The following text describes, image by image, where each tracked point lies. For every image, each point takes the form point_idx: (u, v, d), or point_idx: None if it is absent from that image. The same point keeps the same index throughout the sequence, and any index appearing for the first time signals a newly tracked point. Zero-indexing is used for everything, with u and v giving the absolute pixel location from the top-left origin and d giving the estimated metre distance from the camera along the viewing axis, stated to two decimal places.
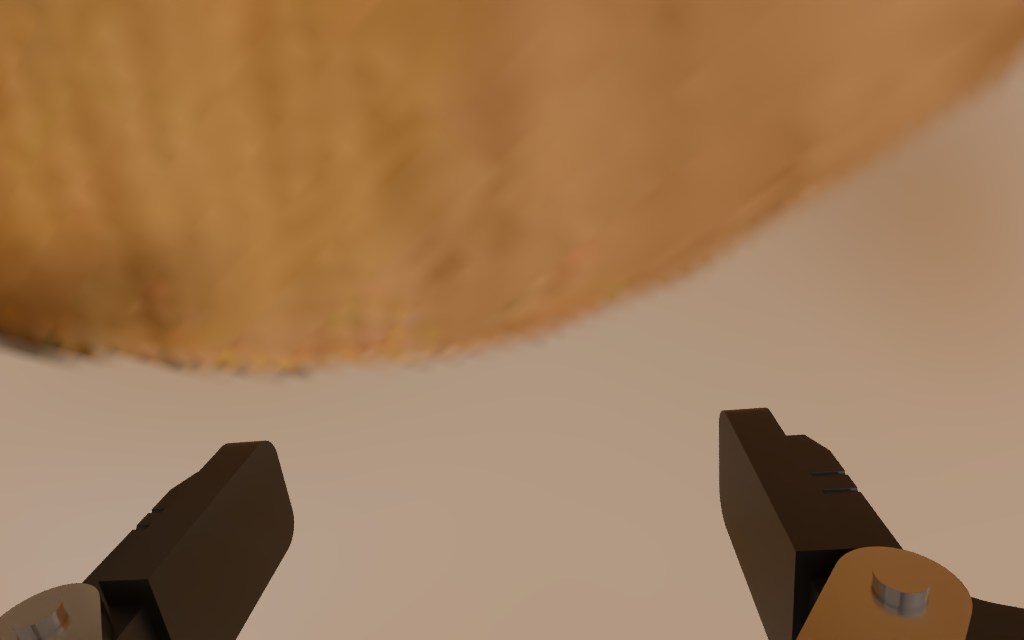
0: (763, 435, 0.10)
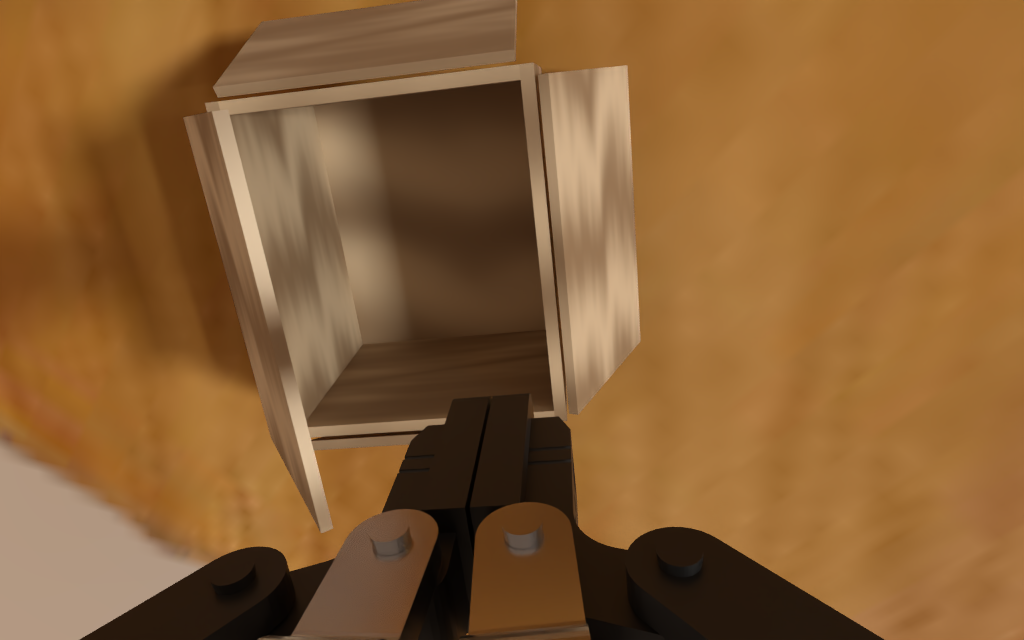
0: (509, 416, 0.11)
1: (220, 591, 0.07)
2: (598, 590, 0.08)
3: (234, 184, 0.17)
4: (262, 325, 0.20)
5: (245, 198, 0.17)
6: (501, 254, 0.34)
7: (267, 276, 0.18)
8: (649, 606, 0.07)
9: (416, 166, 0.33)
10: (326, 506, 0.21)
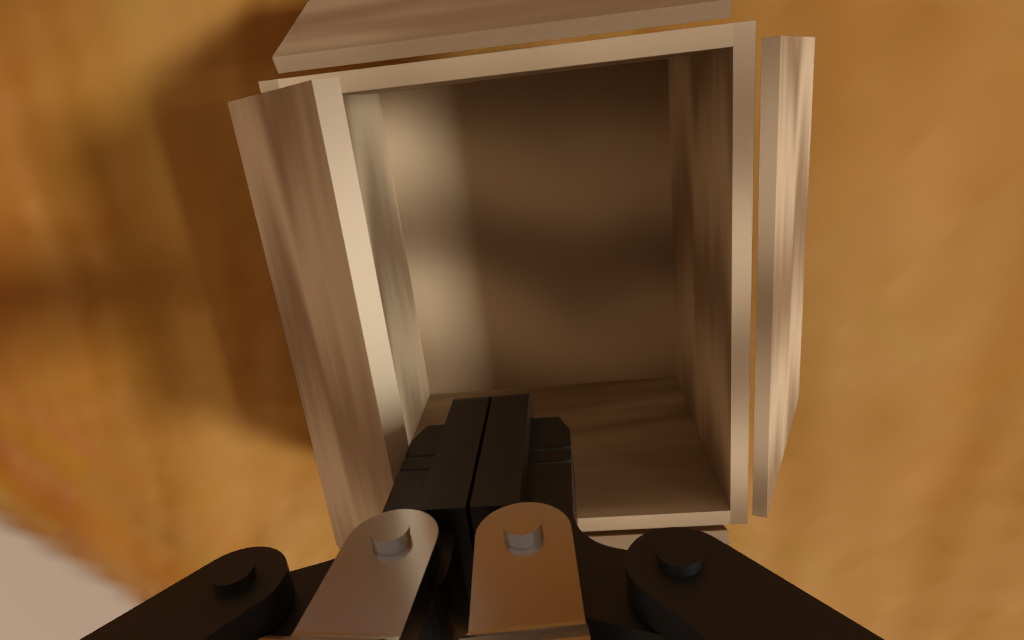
0: (509, 416, 0.11)
1: (220, 591, 0.07)
2: (598, 590, 0.08)
3: (343, 211, 0.10)
4: (367, 433, 0.12)
5: (360, 234, 0.10)
6: (613, 284, 0.27)
7: (389, 363, 0.11)
8: (648, 606, 0.07)
9: (509, 172, 0.26)
10: None
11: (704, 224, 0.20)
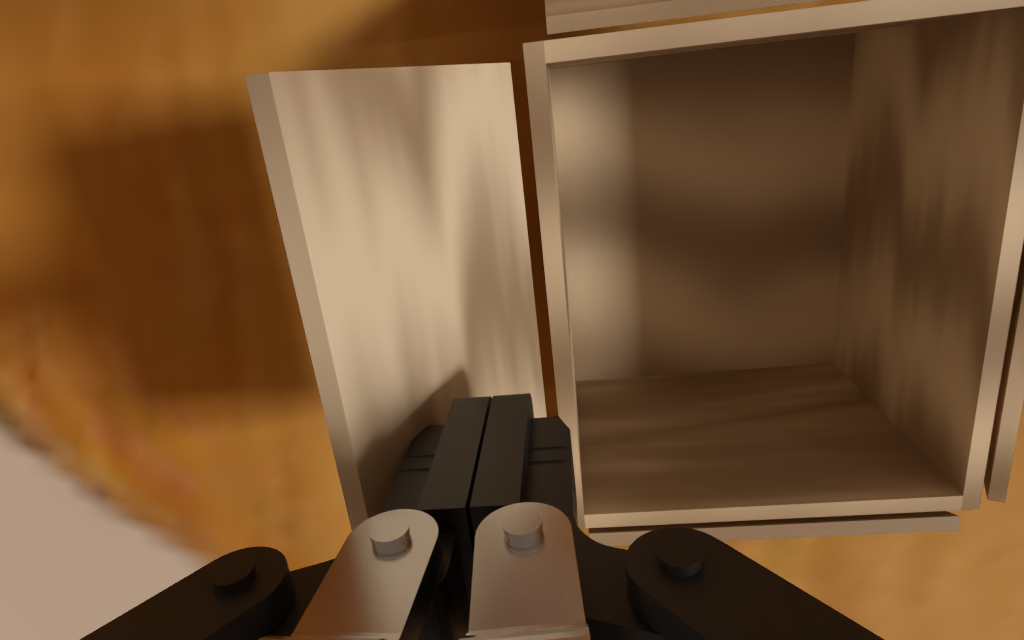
0: (509, 416, 0.11)
1: (220, 591, 0.07)
2: (598, 590, 0.08)
3: (282, 219, 0.09)
4: None
5: (299, 247, 0.09)
6: (776, 267, 0.26)
7: (334, 390, 0.10)
8: (648, 606, 0.07)
9: (679, 151, 0.25)
10: None
11: (932, 199, 0.19)
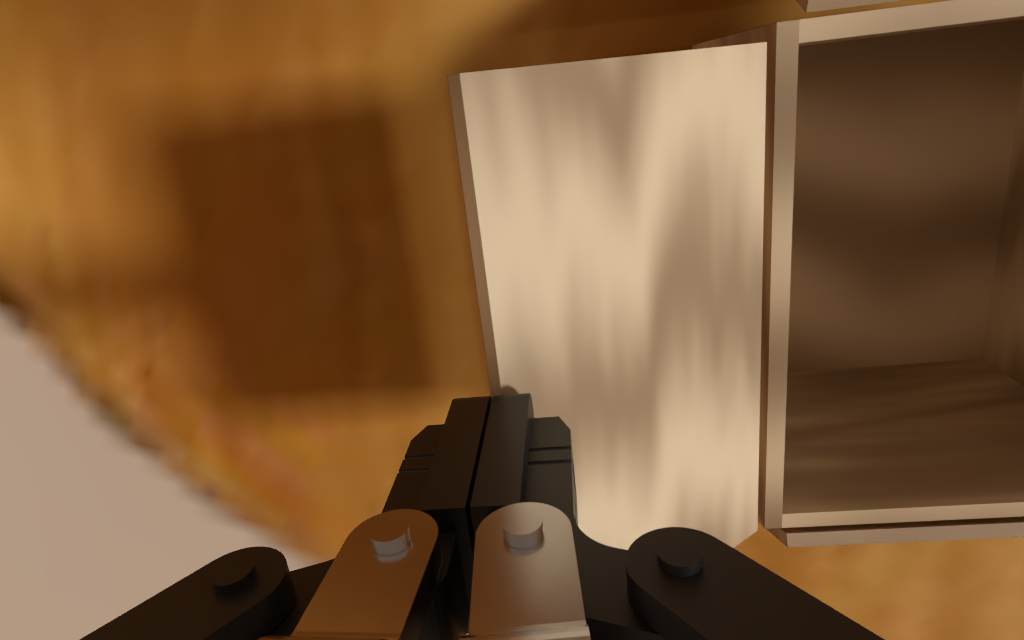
0: (509, 416, 0.11)
1: (220, 591, 0.07)
2: (598, 590, 0.08)
3: (465, 190, 0.11)
4: None
5: (473, 214, 0.11)
6: (930, 260, 0.26)
7: (490, 334, 0.12)
8: (649, 606, 0.07)
9: (838, 141, 0.24)
10: None
11: None
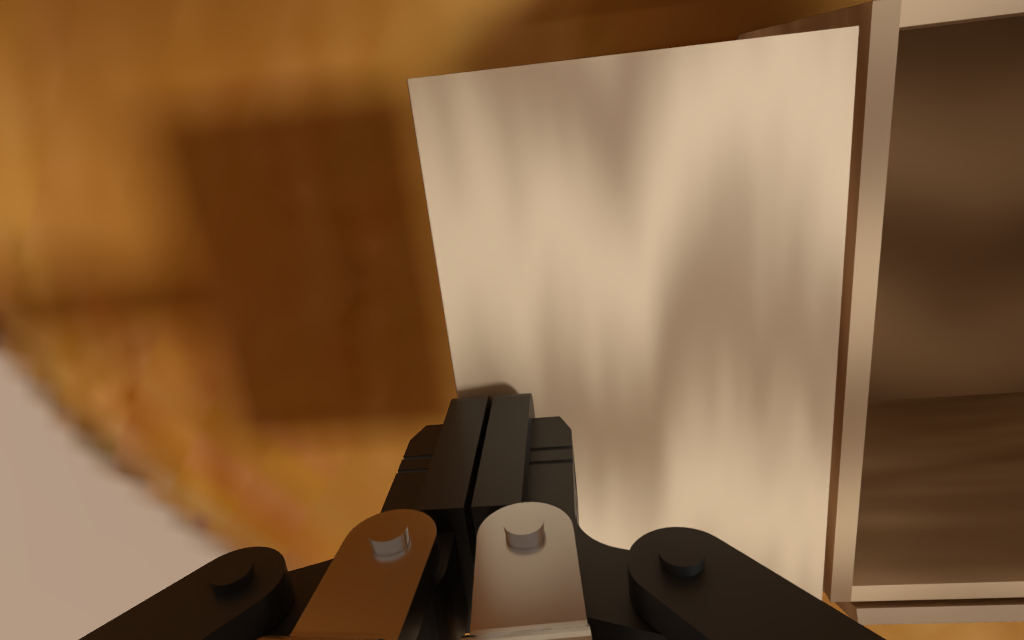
0: (510, 415, 0.11)
1: (218, 591, 0.08)
2: (600, 590, 0.08)
3: None
4: None
5: None
6: (1006, 279, 0.23)
7: None
8: (651, 606, 0.07)
9: (905, 144, 0.21)
10: None
11: None
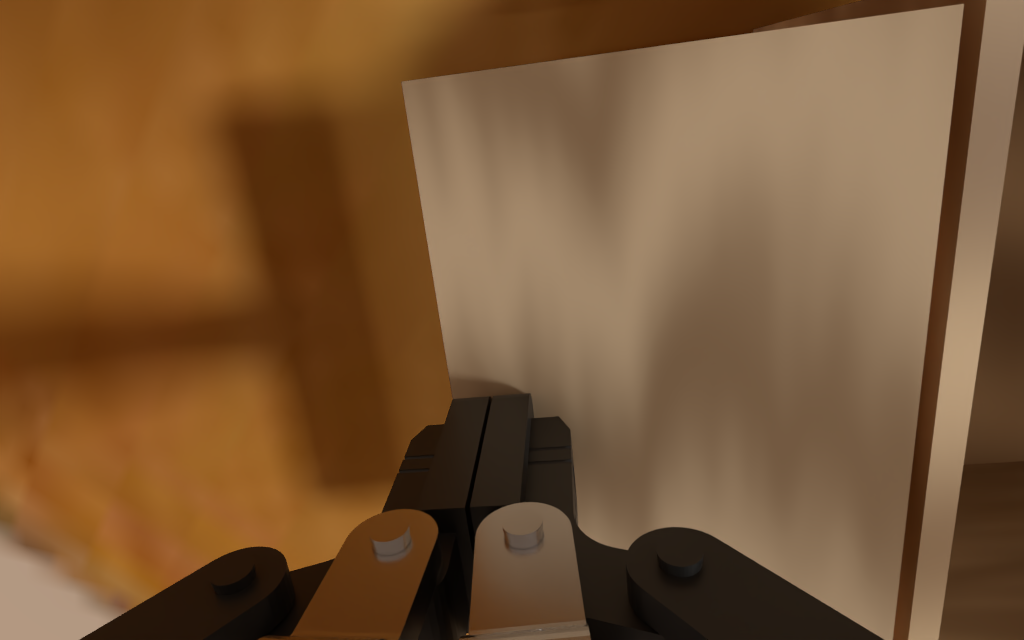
0: (510, 415, 0.11)
1: (220, 591, 0.07)
2: (598, 590, 0.08)
3: (429, 188, 0.12)
4: None
5: None
6: None
7: (441, 324, 0.13)
8: (648, 606, 0.07)
9: None
10: None
11: None
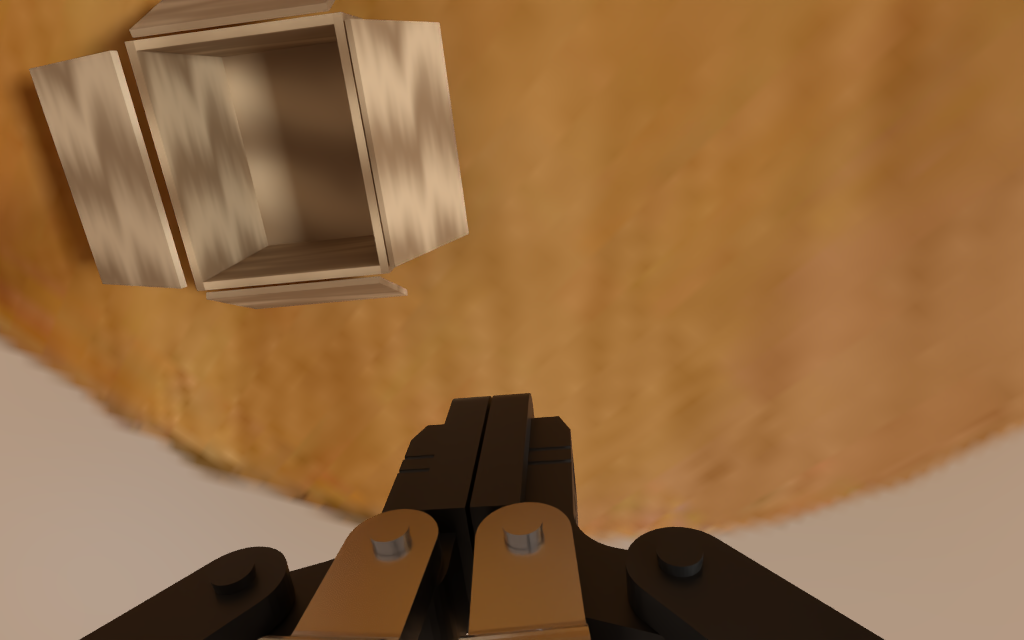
0: (509, 416, 0.11)
1: (220, 591, 0.07)
2: (598, 590, 0.08)
3: None
4: None
5: None
6: None
7: (57, 147, 0.39)
8: (649, 606, 0.07)
9: (300, 103, 0.44)
10: (99, 270, 0.42)
11: None
